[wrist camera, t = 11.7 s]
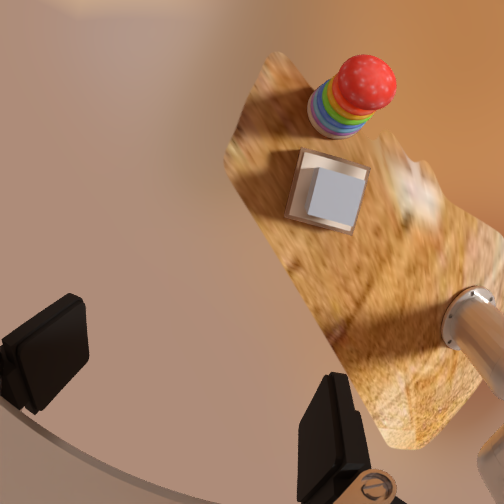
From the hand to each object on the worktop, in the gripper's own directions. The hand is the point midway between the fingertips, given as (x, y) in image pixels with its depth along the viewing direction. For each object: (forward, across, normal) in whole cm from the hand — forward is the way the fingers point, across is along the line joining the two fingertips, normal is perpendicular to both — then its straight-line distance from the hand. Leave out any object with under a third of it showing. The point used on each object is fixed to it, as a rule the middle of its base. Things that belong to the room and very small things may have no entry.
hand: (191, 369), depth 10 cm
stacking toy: (+32, -6, -17) cm, 37 cm away
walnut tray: (+32, -7, -6) cm, 34 cm away
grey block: (+28, -7, -6) cm, 30 cm away
